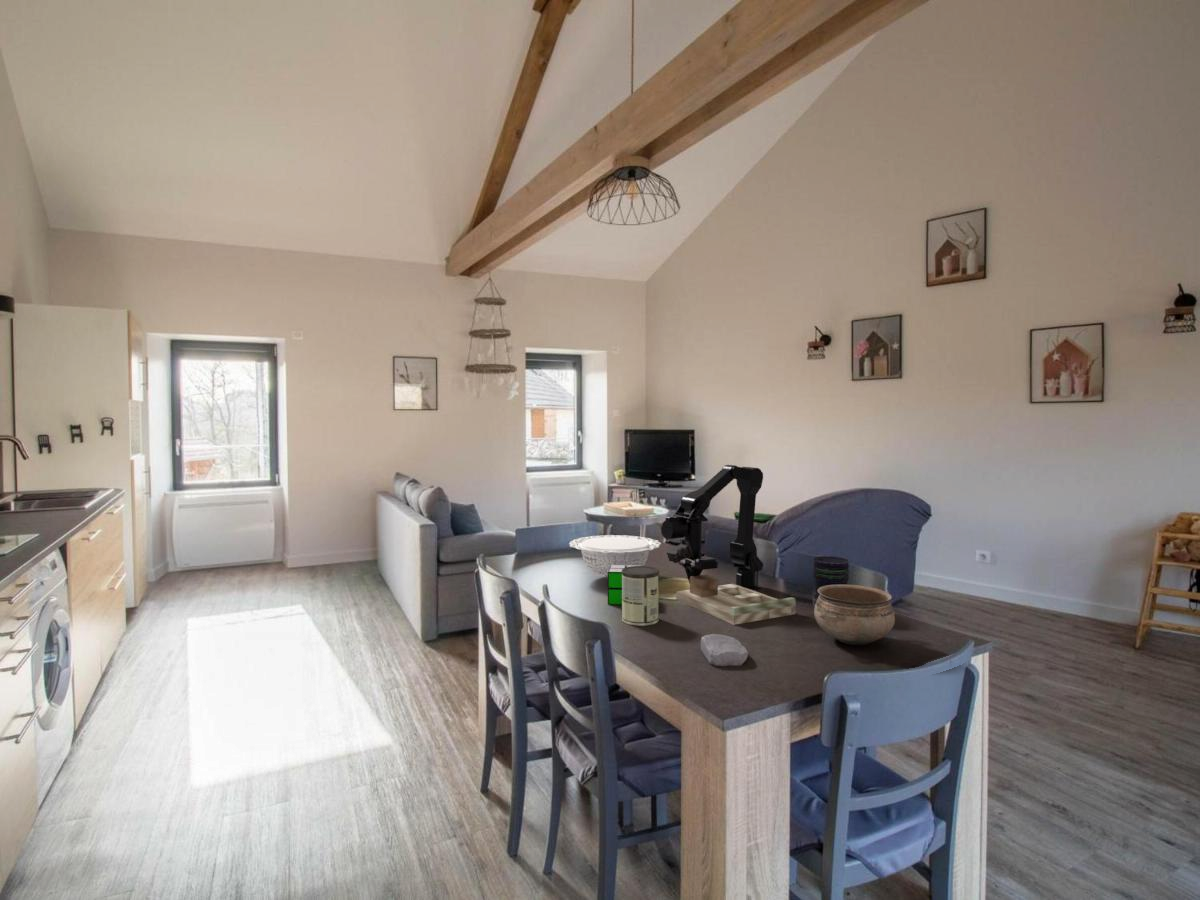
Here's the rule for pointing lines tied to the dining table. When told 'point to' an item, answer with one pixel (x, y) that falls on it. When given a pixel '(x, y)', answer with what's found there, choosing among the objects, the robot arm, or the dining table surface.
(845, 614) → the cooking pot
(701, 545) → the robot arm
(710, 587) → the walnut block
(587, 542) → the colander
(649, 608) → the coffee can
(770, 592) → the dining table surface
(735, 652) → the stone block
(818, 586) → the storage jar
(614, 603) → the puzzle cube
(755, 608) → the trap deck
